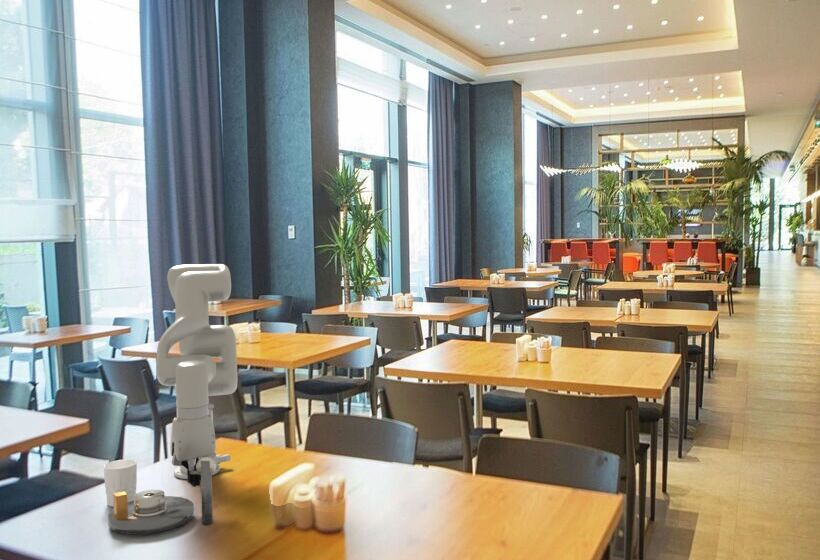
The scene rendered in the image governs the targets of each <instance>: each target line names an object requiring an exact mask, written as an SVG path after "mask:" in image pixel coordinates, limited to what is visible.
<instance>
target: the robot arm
mask: <svg viewBox="0 0 820 560" xmlns="http://www.w3.org/2000/svg"><path fill="white" fill-rule="evenodd" d="M166 277H167V284H168V285H167V286H168V289H169V292H170V296H171V298H172V299H173V302H174V304H175V314H174V315H175V317H174V318H175V321H174V322H173V323H171V325H169V326H168V327H167V329H166V330H165V331H164V332H163V334H162V335H161V337H160V339H159V341H158V344H157V347H156V348H157V349H156V364H155V365H156V367H155V368H156V370H155V371H156V377H157V381H158V382H159V383H160V385H161V386H166V387H174V389H175V398H176V399H175V401H176V403H175V404H176V417H174V418H173V419H172V423H171V432H170V446H169V447H170V449H169V450H170V456H171V457H172V459H171V465H173V466H174V467H176V468H175V469H174V470H173V472H174V473H173V475H174V477H176V478H177V479H182V480H183V479H184V480H187V482H188V483H189V484H190V485H191V487H193V488H195V487H197V486H199V487H200V486H201V475H200V474H190V472H191V471H197V469H196V464H197V462H198V461H199V460H200V459H201V458H203V457H210V458H212V459H213V460H214V461H215V463H216V469H215V471H214V472H213V473H212V476H215V475H216V474H218V473H219V472H220V469H221V468H220V467H221V466H220V465H221V463H226V462H230V461H231V455H230V454H228V453H227V454H224V455H223V454H222V453H221V454H216V447H217V445H216V444H217V443H216V433H215V425H214V412H213V410H214V409H215V404H214V403H210V401H209V397H212V396H225V395H231V394H232V395H233V394H234V393H235V392H236V390H237V388H238V381H239V380H238V379H239V378H238V359H237V358H238V356H237V353H238V352H237V342H236V341H237V340H236V334H235V331H234V329H233V327H231V326H229V325H226V324H212V325H211V324H210V320H209V319H210V318H209V316H210V315H209V314H210V313H209V302H222V301H223V302H225V301H227V300H228V299H230V296H231V292H232V279H231V277H232V276H231V272H230V269H229V267H228V266H227V265H226V264H223V263H205V264H203V263H202V264H201V263H200V264H199V263H197V264H196V263H194V264H193V263H192V264H191V263H189V264H188V263H187V264H180V265H179V264H178V265H174V266H172V267H170V268H169V270H168V272H167V275H166ZM177 343H178V349H179V353H180V354H179V355H169V352H170V350H171V349H172V347H173V346H175V345H176V344H177ZM215 359H219V360H220V361H215Z"/></svg>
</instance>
